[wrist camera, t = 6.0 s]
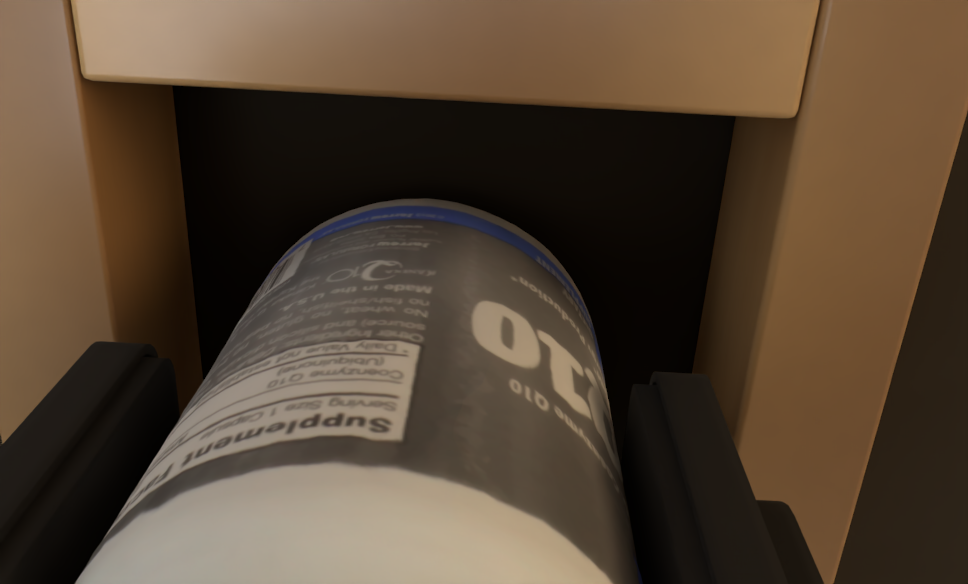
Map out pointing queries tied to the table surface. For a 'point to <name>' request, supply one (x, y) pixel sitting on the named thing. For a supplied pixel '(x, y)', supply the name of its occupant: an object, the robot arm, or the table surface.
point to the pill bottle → (392, 423)
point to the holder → (526, 81)
